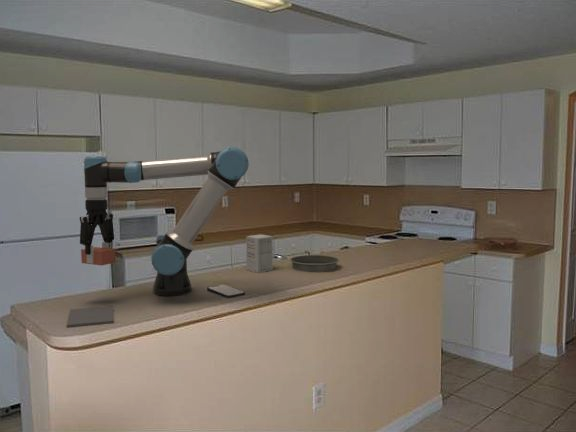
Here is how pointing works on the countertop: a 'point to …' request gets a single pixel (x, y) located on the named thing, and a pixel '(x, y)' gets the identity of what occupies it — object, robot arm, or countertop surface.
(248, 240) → the supplement box
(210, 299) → the countertop surface
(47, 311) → the countertop surface
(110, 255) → the card deck box
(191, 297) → the countertop surface
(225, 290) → the phone case
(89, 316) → the rubber mat
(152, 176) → the robot arm
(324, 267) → the cake pan
